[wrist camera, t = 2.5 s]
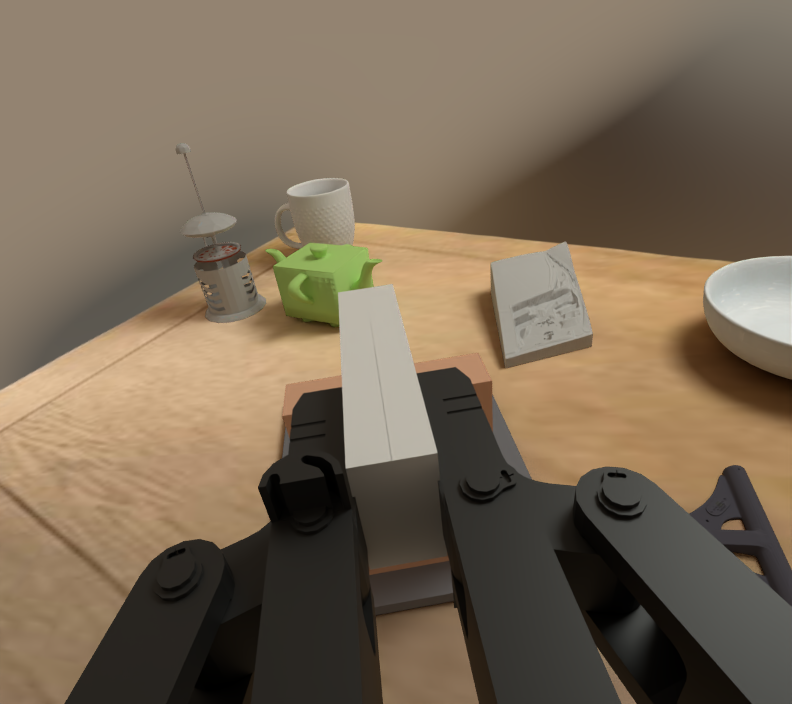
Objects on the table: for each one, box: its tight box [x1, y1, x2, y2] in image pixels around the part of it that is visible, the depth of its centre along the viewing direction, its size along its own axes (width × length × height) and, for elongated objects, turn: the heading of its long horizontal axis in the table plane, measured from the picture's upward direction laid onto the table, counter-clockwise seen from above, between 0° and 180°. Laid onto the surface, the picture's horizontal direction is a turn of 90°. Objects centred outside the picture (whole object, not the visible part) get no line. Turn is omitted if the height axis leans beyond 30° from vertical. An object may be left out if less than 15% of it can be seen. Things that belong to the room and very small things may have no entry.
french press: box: [176, 143, 266, 323], centre depth 74 cm, size 10×12×25 cm
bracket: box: [689, 465, 792, 607], centre depth 37 cm, size 14×15×3 cm
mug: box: [275, 178, 355, 249], centre depth 90 cm, size 15×11×13 cm
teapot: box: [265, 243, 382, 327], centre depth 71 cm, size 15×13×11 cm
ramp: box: [491, 242, 593, 368], centre depth 66 cm, size 28×16×5 cm, turn 154°
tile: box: [282, 353, 493, 575], centre depth 34 cm, size 12×3×16 cm, turn 97°
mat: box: [282, 395, 531, 615], centre depth 46 cm, size 22×26×1 cm
